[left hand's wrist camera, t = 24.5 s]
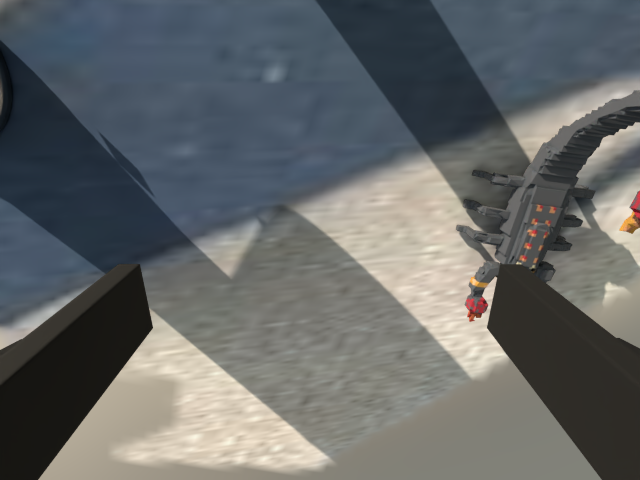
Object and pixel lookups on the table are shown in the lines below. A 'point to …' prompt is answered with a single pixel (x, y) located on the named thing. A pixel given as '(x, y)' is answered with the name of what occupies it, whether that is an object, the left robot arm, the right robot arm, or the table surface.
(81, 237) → the table surface
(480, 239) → the toy
